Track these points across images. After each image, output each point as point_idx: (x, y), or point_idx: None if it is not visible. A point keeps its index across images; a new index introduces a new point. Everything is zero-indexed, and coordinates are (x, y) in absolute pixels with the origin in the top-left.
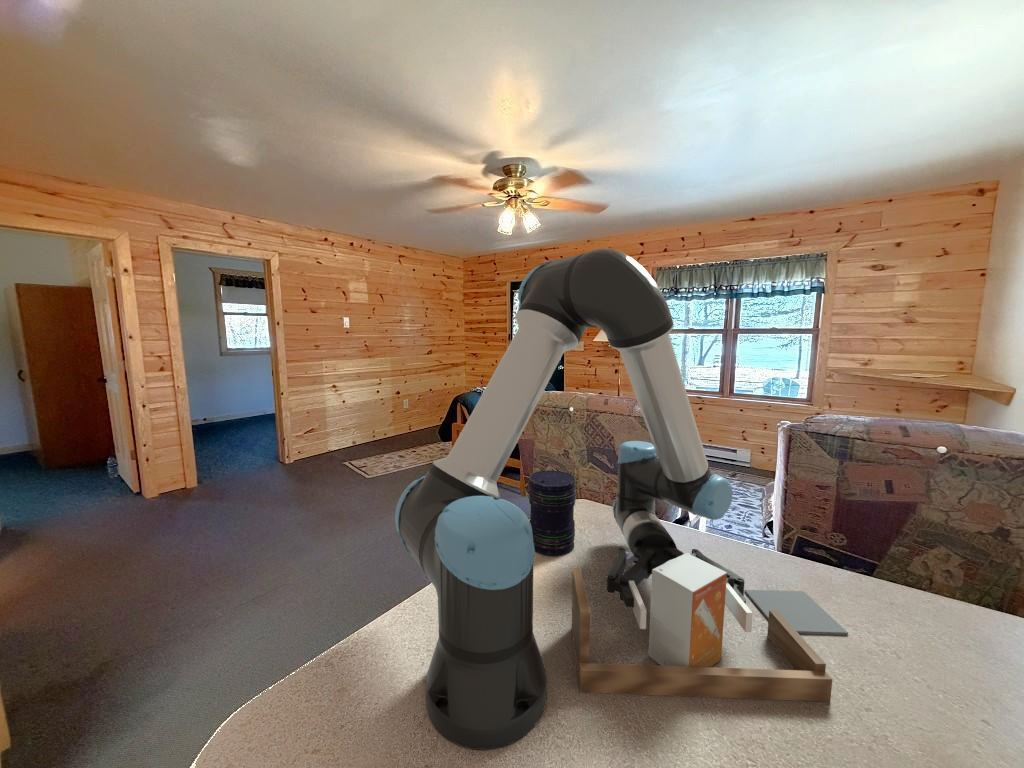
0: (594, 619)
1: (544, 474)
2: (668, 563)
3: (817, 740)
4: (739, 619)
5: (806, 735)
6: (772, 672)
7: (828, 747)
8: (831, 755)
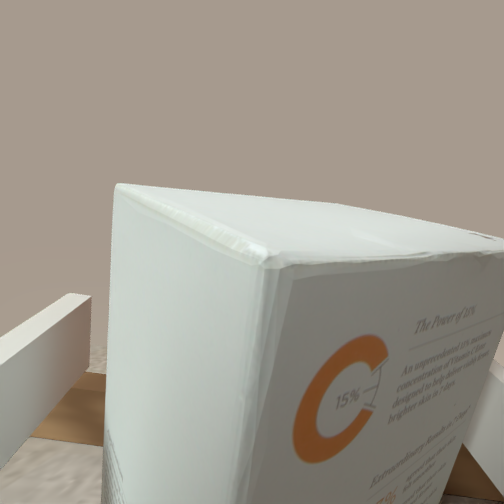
0: None
1: None
2: (459, 241)
3: (96, 362)
4: (65, 378)
5: (105, 369)
6: (78, 380)
7: (92, 355)
8: (102, 349)
